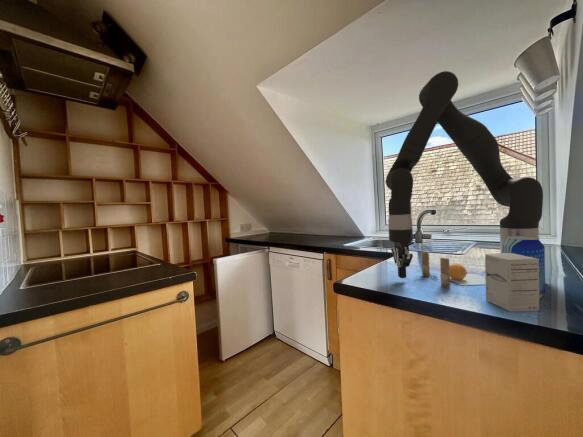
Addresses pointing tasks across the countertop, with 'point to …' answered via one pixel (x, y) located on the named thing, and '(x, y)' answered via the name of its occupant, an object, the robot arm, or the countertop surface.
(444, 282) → the near post
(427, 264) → the far post
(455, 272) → the ball
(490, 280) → the supplement box
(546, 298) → the countertop surface
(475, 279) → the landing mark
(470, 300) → the countertop surface
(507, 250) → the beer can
